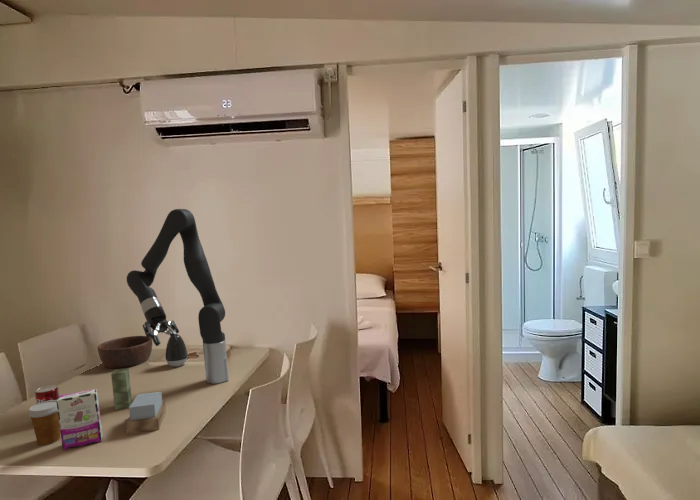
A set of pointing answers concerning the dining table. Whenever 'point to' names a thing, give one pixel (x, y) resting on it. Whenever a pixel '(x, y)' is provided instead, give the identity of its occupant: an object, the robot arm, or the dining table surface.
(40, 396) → the soda can
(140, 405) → the blue gray tower block
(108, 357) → the wooden bowl
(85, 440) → the candy bar box
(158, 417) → the tower base
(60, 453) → the dining table surface
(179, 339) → the black egg shape
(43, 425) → the disposable coffee cup
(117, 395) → the olive block
